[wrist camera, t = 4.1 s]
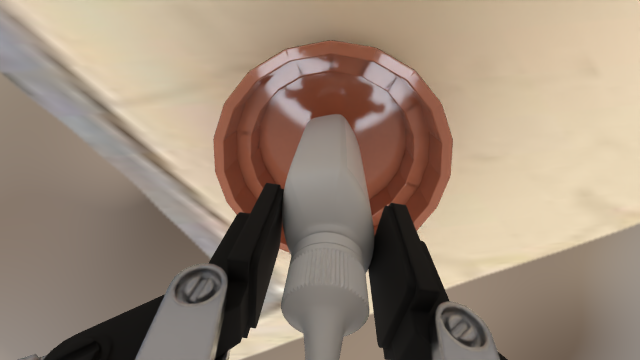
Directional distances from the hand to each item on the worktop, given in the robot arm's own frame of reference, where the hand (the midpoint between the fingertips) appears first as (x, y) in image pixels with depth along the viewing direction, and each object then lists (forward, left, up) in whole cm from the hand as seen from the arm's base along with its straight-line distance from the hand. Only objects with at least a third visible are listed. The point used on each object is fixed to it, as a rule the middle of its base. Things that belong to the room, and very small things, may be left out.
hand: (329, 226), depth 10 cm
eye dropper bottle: (0, 0, -7) cm, 7 cm away
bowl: (+1, 0, -11) cm, 11 cm away
